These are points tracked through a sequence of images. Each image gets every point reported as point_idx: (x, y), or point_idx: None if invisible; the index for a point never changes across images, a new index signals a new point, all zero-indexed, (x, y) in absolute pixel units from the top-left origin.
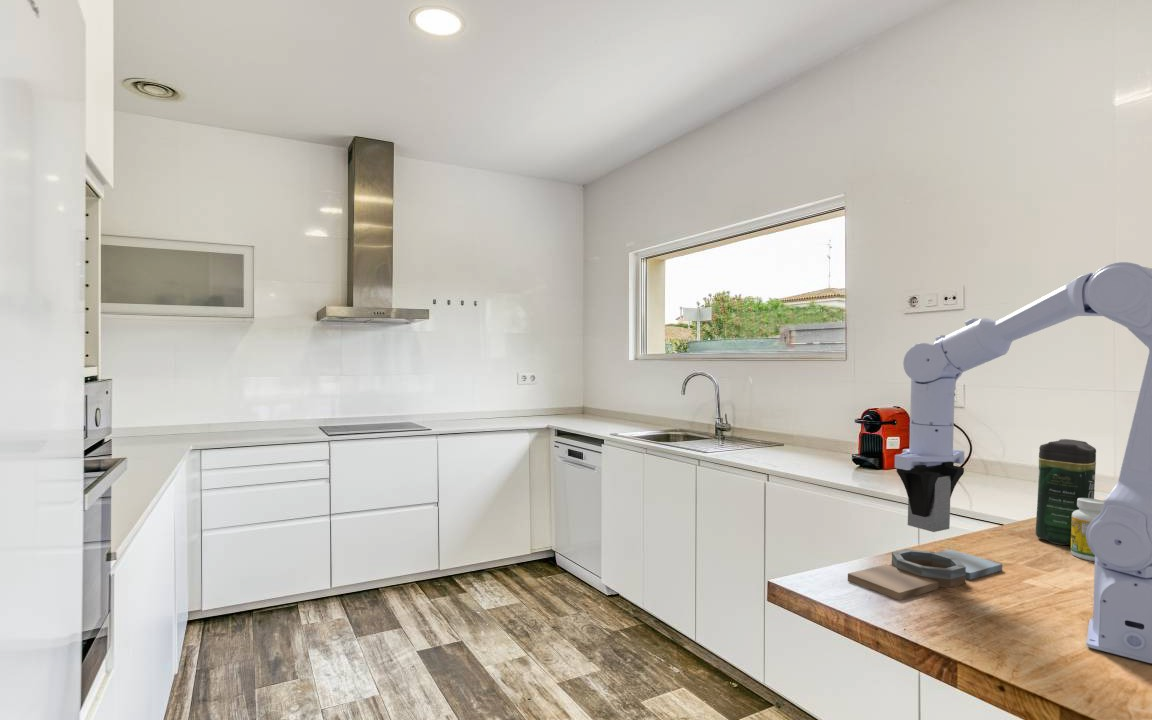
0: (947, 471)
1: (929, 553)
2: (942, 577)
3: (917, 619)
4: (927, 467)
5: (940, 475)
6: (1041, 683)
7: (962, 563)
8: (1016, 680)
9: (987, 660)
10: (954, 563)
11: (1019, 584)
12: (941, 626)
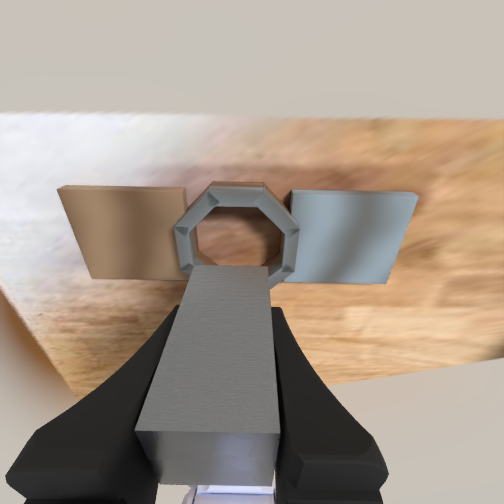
0: (278, 500)
1: (282, 230)
2: None
3: (76, 308)
4: (287, 464)
5: (232, 477)
6: (91, 391)
7: (328, 254)
8: (74, 384)
9: (78, 367)
10: None
11: (328, 310)
12: (92, 326)
